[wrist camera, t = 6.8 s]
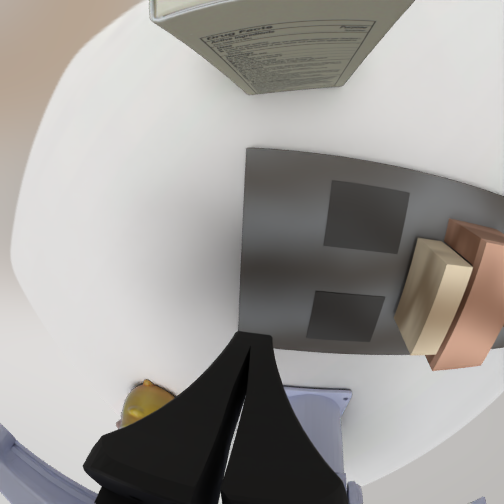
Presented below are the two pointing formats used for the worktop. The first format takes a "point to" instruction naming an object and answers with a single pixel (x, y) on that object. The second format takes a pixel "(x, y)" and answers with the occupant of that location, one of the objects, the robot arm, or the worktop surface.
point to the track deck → (362, 254)
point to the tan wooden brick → (431, 296)
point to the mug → (143, 403)
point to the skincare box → (280, 37)
